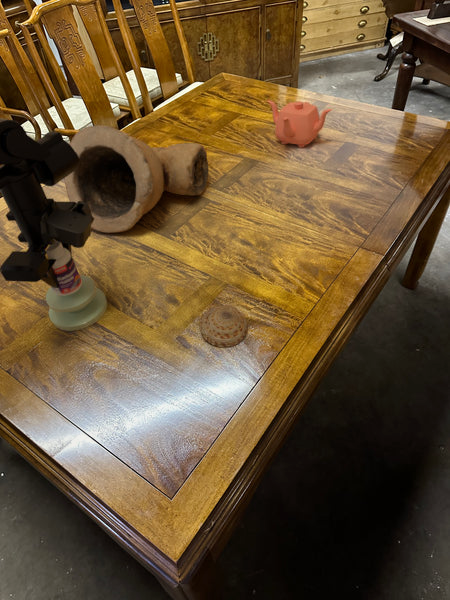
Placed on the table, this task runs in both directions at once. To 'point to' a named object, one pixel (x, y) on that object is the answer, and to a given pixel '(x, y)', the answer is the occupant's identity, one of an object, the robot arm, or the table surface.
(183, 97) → the table surface
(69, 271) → the pill bottle
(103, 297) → the stand
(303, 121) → the teapot
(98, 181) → the pipe
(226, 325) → the seashell
